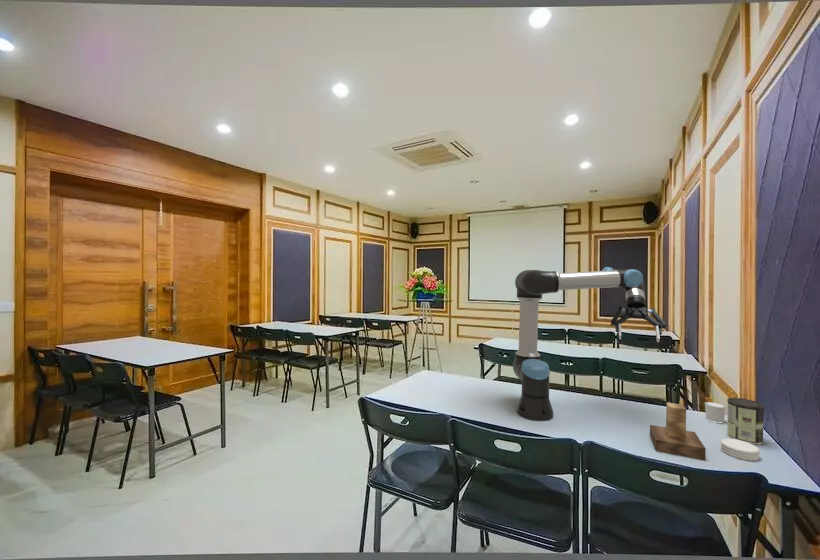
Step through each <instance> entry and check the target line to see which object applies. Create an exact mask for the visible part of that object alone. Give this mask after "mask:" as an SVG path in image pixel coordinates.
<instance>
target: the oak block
mask: <svg viewBox="0 0 820 560" xmlns="http://www.w3.org/2000/svg"><path fill="white" fill-rule="evenodd" d="M665 409H666V411H665V412H666V413H665V414H666V416H665V417H666V418H665V421H666V422H665V427H666V433H667V435H668V437H671V438H677V439H683V440H686V431H687V408H686V407H685V406H684V404H682V403H681V404H680V403H672V402H666V407H665Z"/></svg>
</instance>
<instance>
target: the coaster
mask: <svg viewBox="0 0 820 560" xmlns="http://www.w3.org/2000/svg"><path fill="white" fill-rule="evenodd" d="M720 449H721V451H722V453H724V454H726V455H727V456H729V457H733V458H735V459H738V460H743V461H747V462H748V461H749V462H757V461H758V460H760V452H761V451H760V448H759V447H757V445H754V444H750V443H748V442H745V441H741V440H736V439H732V438H723V439H721V441H720Z"/></svg>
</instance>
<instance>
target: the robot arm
mask: <svg viewBox="0 0 820 560" xmlns="http://www.w3.org/2000/svg"><path fill="white" fill-rule="evenodd" d="M644 285H645V283H644V276H643V274H642V272H641V271H639V270H638V269H634V268H633V269H631V268H630V269H615V268H613V267H609V266H606V267H604V268H603V269H601V270H597V271H577V272H573V271H572V272H558V271H556V270H555V271H554V270H553V271H550V270H549V271H548V270H537V269H525V270H522V271H520V272H519V273H518V274H517V276H516V277H515V280H514V286H515V289H516V298H517V299H518V301H519V319H518V324H519V325H518V327H519V328H518V330H519V331H518V350H516V351H515V353H514V354H515V355H514V360H513V362H512V369H513V373H514V374H515V375H516V377H517V378H518V379H519V380H520V381H521V396H520V399H519V402H518V404H517V410H516V411H517V414H518V416H521V417H522V418H525V419H528V420H531V421H540V422H541V421H548V420H549V421H550V420H551V419H553V418H554V410H553V407H552V404H551V400H550V373H551V372H550V371H551V370H550V367H549V364H548V363H547V362H546V361H544V360H541V353H539V351H538V338H539V337H538V336H539V335H538V334H539V329H538V328H539V302H540V301H541V300H542V299H543V295H546V294H554V293H558V292H559V291H569V290H571V291H572V290H589V289H603V288H605V289H606V288H618V289H619V290H623V291H624V293H625V306H626V307H625V308H624V307H622V306H618V310H617V312H616V313H615V315H614V316H613V318H612V319H611V320H610V325H611V326H614V327H615V333H618V340H622V324H624V323H625V322H626V321H627V320H630V318H633V319H643V320H644V321H646V322H648V323H650V324H651V325H652V326H653V327H654V328H655V330H654V331H655V337H656V338H655V339H656V343H660V340H661V337H660V336H662V334H663V330H662V329H664V330H665V329H666V327H667V323H666V322H665V320H664V319H663V318H662V317H661V316H660V315H659V314H658V312H657V311H656V309H655V307H652V308H651V309H649V308H647V304H646V303H647V302H646V295H645V287H644ZM623 313H625V314H624V315H623V316H621V315H622V314H623ZM649 314H650V315H649Z"/></svg>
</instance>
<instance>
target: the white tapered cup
mask: <svg viewBox="0 0 820 560" xmlns="http://www.w3.org/2000/svg"><path fill="white" fill-rule="evenodd" d="M704 407H705V409H704V410H705V419H706V418H707V419H708V420H711V421H715V422H725V415H726V409H727V406H726V405H724V404H721V403H718V402H714V401H713V402H711V401H705V402H704ZM707 419H706V420H707ZM708 420H707V421H708Z"/></svg>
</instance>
